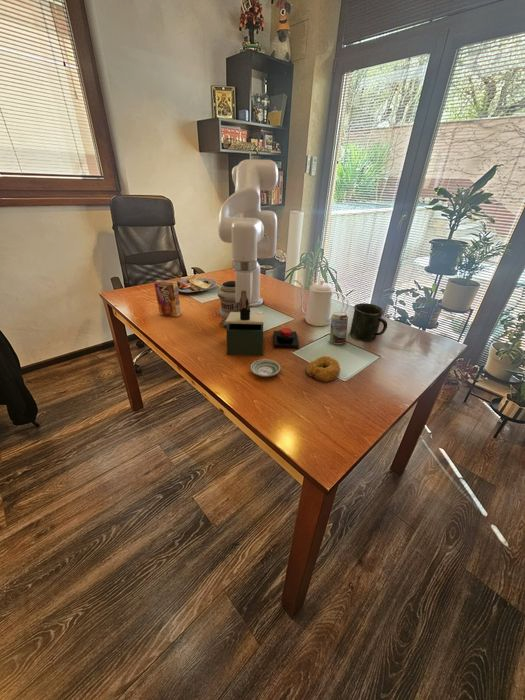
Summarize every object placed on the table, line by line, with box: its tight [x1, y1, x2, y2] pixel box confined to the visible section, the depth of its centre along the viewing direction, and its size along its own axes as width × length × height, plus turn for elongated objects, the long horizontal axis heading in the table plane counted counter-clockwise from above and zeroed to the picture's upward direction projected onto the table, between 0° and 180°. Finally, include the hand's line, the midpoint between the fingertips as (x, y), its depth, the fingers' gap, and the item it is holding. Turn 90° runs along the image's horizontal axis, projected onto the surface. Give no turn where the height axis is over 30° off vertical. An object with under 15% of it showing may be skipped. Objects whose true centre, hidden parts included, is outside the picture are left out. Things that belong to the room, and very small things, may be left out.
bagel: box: [305, 355, 342, 383], centre depth 94 cm, size 10×11×5 cm
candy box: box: [153, 279, 182, 318], centre depth 129 cm, size 9×4×15 cm, turn 78°
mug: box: [349, 302, 388, 342], centre depth 114 cm, size 11×15×12 cm
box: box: [225, 321, 265, 356], centre depth 107 cm, size 14×13×10 cm
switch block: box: [273, 329, 300, 350], centre depth 112 cm, size 11×9×4 cm
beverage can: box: [329, 311, 349, 345], centre depth 110 cm, size 6×7×12 cm
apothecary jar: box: [216, 280, 240, 329], centre depth 120 cm, size 12×12×18 cm
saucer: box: [250, 358, 282, 378], centre depth 94 cm, size 10×10×2 cm
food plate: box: [176, 275, 217, 293], centre depth 163 cm, size 25×23×4 cm
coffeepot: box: [293, 279, 349, 327], centre depth 124 cm, size 11×25×19 cm, turn 62°
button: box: [280, 327, 293, 336], centre depth 111 cm, size 4×4×2 cm
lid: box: [226, 311, 265, 325], centre depth 103 cm, size 14×13×1 cm
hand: (245, 318), depth 99 cm, fingers closed
